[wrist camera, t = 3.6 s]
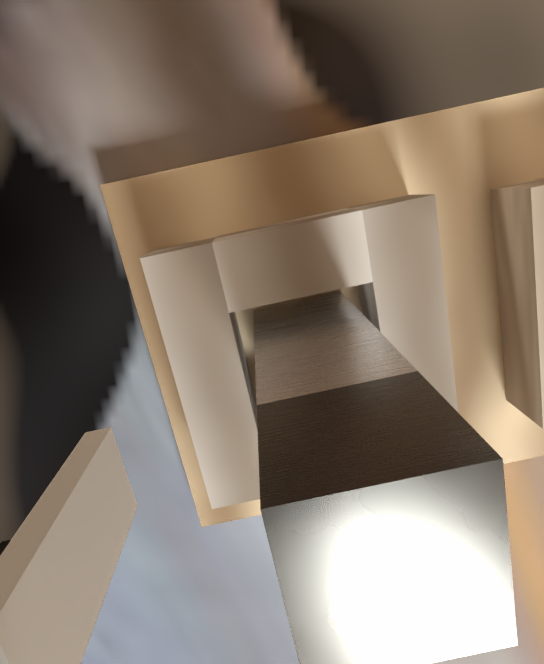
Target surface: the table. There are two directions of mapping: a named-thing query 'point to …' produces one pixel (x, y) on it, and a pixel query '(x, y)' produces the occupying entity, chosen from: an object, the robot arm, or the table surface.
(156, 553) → the table surface
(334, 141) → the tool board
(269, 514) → the grey square peg
